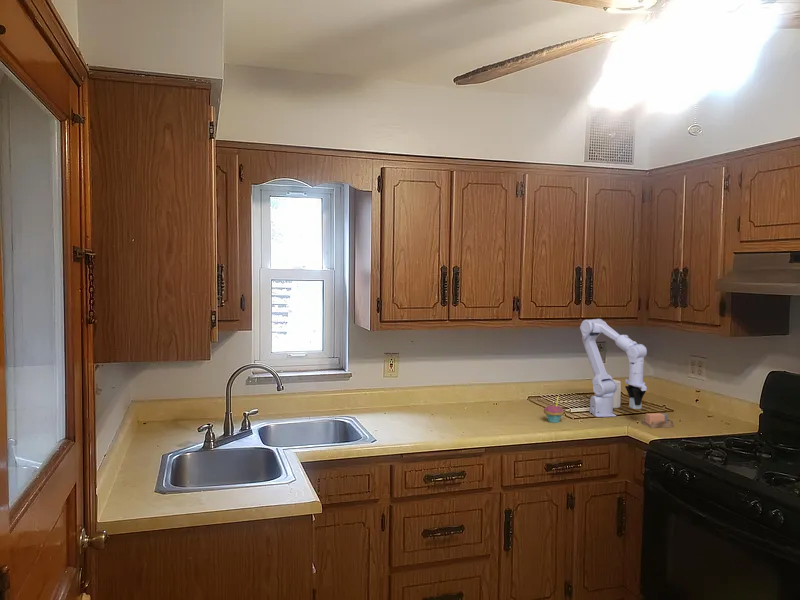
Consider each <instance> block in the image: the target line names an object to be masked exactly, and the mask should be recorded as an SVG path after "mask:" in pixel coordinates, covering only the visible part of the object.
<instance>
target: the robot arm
mask: <svg viewBox="0 0 800 600" xmlns="http://www.w3.org/2000/svg"><path fill="white" fill-rule="evenodd" d="M579 330H580V332H581V340H582V344H583V347H584V350H585V352H586V355H587V358H588V360H589V364H590V368H591V370H592V372H593V373H592V374H593V376H594V377H593V378H592V381H591V383H592V391H593V393H594V395H591V396H590V400H589V412H590V413H589V414H591V413H592V414H593V415H592V414H591V415H592V416H594V417H595V418H601V417H602V418H607V417H617V415H616V414H615V413H614V411H613V410H614V408H613V395H614V393H615V392H616V390H617V385H616V383H615V382H614V381H613V380H614V379H613V377H612V375H610V374H609V373H607V370H606V367H605V365H604V361H603V359H602V356H601V353H600V351H599V348H598V345H597V341H596V340H597V338H598V337H599V336H600V335H601V334H603V335H604V336H606V337H608V338H609V339H611V340H612V341H614V342H615V343H614V344H615V346H616V347H618V348H619V349H621V350H622V351H624V352H625V353H626V355H627V358H628V363H629V364H628V365H629V367H628V378H626V379H625V380H624V381H625V382H624V383H625V384H626V385H625V387H624V388H625V389H626V391H627V394H628V398H634V402H635V405H640V404H641V405H642V402H641V401H642V400H643V397H644V395H646V393H647V388H648V387H647V385H646V382H644V362H645V361H644V360H645V359H644V358H645V357H646V356H647V353H648V351H647V350H648V349H647V347H646V346H645V345H644V344H643V343H642V344H641V343H637V341H634V340H632V339H631V338H630V337H629V335H628V334H620V333H619V332H617V331H616V330H615V329H613V328H612V327H610V325H608V324H607V322H606V321H605V320H603V319H601V318H593V319H584V320H583V321H582V322H581V324H580V326H579Z"/></svg>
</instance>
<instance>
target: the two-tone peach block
mask: <svg viewBox="0 0 800 600" xmlns="http://www.w3.org/2000/svg"><path fill="white" fill-rule="evenodd" d="M645 418H646V422H647V423H649V424H652V422H661V421H668V420H669V414H666V413H664V412H656V413H654V412H653V413H645Z"/></svg>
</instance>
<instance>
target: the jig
mask: <svg viewBox="0 0 800 600" xmlns="http://www.w3.org/2000/svg"><path fill="white" fill-rule="evenodd" d="M641 424H642V425H644V426H647V427H649V428H651V429H659V428H660V429H661V428H663V429H664V428H674V427H675V425H674V421H673V420H670V419H668V421H661V422H652V424H649V423H647V422H646V417H644V419H643V420H641Z"/></svg>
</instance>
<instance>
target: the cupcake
mask: <svg viewBox="0 0 800 600" xmlns="http://www.w3.org/2000/svg"><path fill="white" fill-rule="evenodd" d="M559 395H560V394H558V396H557V398H556V401H555V404H552V405H547V406H545V407H544V408H543V414H545V415H546V419H547V422H549V423H553V424H556V423H557V424H558V423H560V421H561V418H562V416H563V415H564V413H565V411H564V409H563V408H562V407H561V406H559V398H560V396H559Z"/></svg>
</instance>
